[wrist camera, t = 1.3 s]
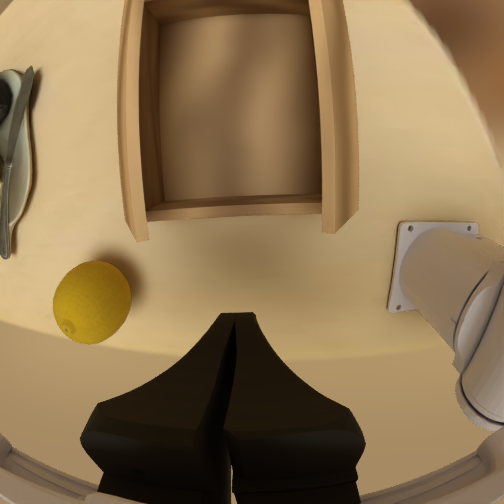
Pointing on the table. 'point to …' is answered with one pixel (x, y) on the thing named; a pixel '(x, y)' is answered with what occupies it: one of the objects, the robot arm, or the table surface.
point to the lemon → (92, 302)
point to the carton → (229, 109)
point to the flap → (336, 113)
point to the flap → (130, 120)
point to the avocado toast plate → (14, 151)
